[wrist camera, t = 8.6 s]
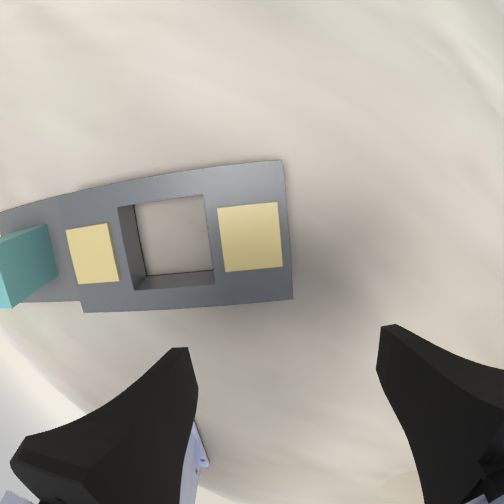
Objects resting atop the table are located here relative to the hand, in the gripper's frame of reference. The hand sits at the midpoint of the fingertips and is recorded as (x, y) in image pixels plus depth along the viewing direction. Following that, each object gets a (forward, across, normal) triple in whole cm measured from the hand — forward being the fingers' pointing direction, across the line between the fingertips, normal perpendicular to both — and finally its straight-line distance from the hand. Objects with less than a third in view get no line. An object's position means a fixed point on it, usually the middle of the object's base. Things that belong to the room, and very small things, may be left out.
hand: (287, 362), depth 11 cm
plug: (+10, +18, -3) cm, 21 cm away
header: (+10, +6, -3) cm, 12 cm away
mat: (+10, +18, -3) cm, 21 cm away
